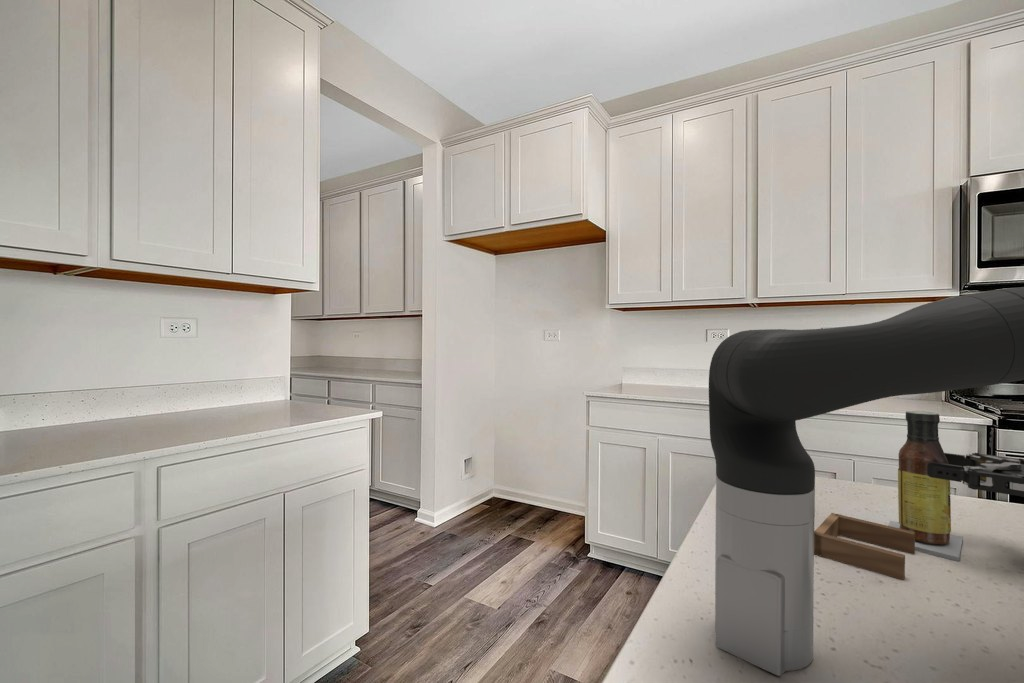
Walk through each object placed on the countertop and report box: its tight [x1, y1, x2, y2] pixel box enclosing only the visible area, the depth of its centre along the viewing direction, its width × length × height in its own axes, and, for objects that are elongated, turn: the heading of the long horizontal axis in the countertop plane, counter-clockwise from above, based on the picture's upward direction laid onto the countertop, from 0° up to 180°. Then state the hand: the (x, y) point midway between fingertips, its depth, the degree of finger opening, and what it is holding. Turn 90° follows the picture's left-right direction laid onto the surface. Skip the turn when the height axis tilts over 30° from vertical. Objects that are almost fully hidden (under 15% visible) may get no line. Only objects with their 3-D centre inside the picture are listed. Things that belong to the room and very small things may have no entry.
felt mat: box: [887, 520, 964, 562], centre depth 75 cm, size 10×9×1 cm
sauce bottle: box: [897, 410, 952, 545], centre depth 74 cm, size 6×6×20 cm
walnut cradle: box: [814, 512, 916, 581], centre depth 71 cm, size 12×11×3 cm
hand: (930, 463), depth 74 cm, fingers open, 8 cm apart
